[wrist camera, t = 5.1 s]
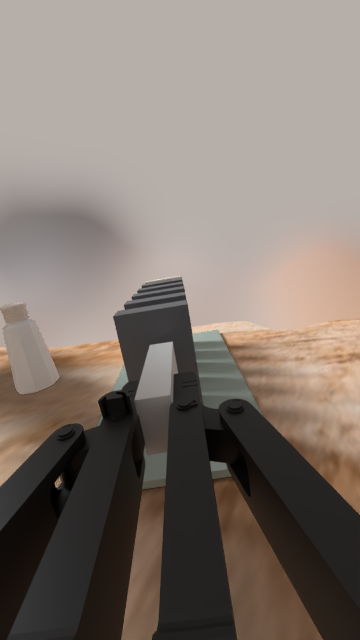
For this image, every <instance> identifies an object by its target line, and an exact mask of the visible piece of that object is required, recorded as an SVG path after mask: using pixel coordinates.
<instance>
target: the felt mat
mask: <svg viewBox="0 0 360 640" xmlns="http://www.w3.org/2000/svg"><path fill="white" fill-rule="evenodd" d="M192 336H193V342H194V348H195V355H196V361H197V367H198V373H199V380H200V386H201V392H202V399H203V405H204V406H206V407H209V408H214V409H218V408H219V405H220V404H221V403H222V402H224V401H226V400H229V399H243V400H246V401H248V402H249V403H251V404H252V405H253V406H254V407H255V408H256V409H257V410H258V411H259V412H260V413H261V415H262V416H263V414H262V412H261V410H260V408H259V407H258V405H257V403H256V401H255V399H254V397H253V395H252V393H251V391H250V390H249V388H248V386H247V384H246V382H245V380H244V378H243V376H242V374H241V372H240V371H239V369H238V367H237V365H236V363H235V361H234V359H233V357H232V355H231V354H230V352H229V350H228V348H227V346H226V344H225V342H224V340H223V338H222V337H221V335H220V333H219V331H218V330H214V331H207V332H201V333H195V334H192ZM127 382H128V377H127V373H126V369H125V365H124V366H123V368H122V370H121V372H120V375H119V377H118V379H117V381H116V384H115V386H114V388H113V390H112V392H113V391H117V390H122V387H123V386H124V385H125V384H126V383H127ZM263 417H264V416H263ZM102 419H103V417H102V415H101V417H100V419H99V421H98V423H97V426H99V425H100V423H101V421H102ZM97 426H96V427H97ZM143 454H144V458H145V464H146V465H145V472H144V479H143V487H142V489H149V488H156V487H163V486H166V466H167V453H160V454H153V455H147V453H146V449H145V447H144V453H143ZM210 465H211V472H212V479H218V478H225V477H232V476H231V474H230V472H229V470H228V468H227V465H226V463H221V462H213V461H210Z"/></svg>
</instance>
